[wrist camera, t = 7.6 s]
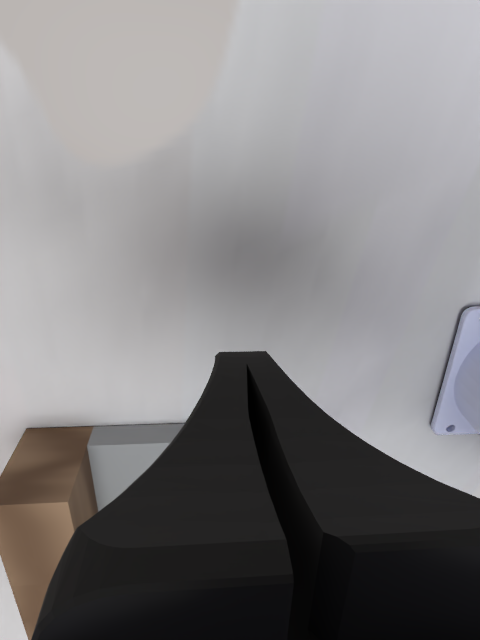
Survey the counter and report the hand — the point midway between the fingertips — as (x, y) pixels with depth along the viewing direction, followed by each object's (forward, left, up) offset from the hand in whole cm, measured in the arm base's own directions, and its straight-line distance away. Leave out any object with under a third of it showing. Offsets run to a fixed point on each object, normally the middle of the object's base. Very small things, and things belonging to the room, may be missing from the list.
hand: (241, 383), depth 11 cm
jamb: (+9, +16, -9) cm, 21 cm away
